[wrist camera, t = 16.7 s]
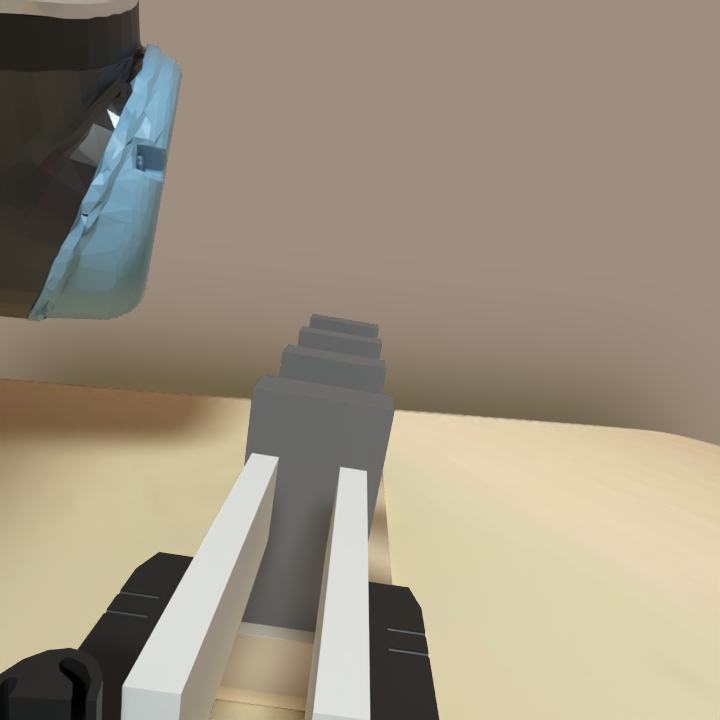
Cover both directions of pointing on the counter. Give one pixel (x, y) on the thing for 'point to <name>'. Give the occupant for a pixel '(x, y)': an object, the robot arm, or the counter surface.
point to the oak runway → (290, 642)
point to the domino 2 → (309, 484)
